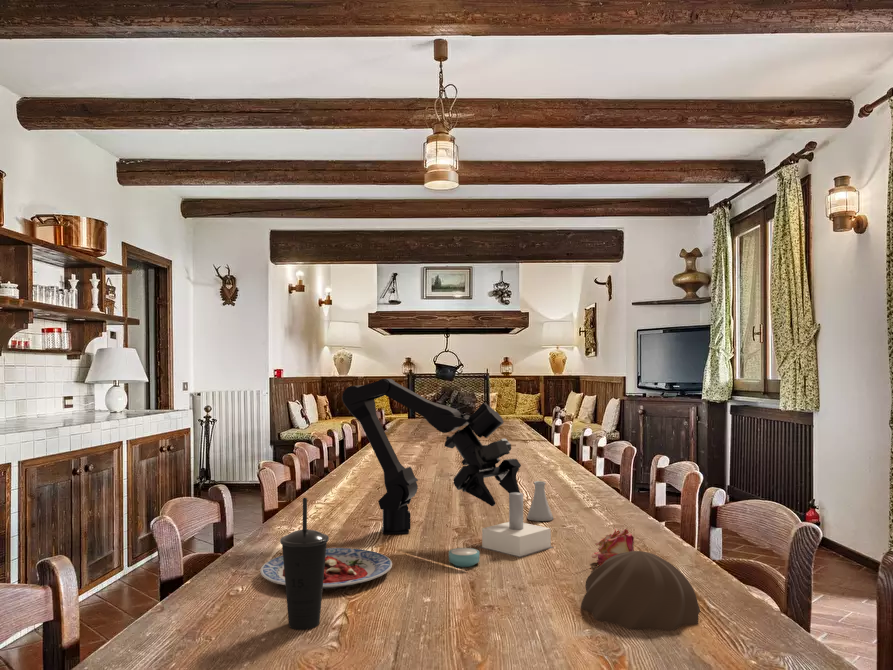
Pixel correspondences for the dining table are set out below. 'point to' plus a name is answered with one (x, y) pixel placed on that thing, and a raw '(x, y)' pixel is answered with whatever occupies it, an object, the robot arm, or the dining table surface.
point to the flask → (539, 504)
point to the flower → (614, 545)
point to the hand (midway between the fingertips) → (507, 502)
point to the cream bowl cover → (516, 532)
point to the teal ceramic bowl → (464, 557)
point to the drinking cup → (304, 574)
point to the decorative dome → (640, 593)
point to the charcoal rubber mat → (515, 555)
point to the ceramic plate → (337, 567)
